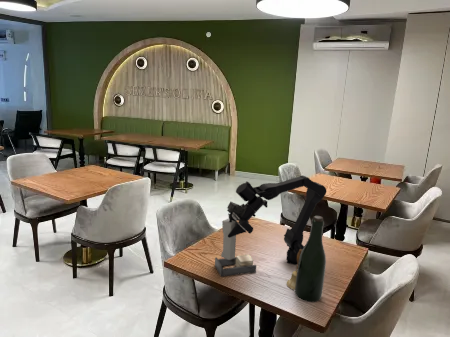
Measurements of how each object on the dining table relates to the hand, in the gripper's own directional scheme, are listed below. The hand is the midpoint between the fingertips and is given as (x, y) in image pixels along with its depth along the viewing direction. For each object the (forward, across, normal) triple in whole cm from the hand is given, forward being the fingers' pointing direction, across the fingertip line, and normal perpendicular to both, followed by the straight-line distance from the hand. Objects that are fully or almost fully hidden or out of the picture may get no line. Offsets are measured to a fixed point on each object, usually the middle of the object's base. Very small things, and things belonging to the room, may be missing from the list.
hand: (226, 234), depth 143 cm
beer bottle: (-6, +26, +31) cm, 41 cm away
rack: (+9, 0, +16) cm, 18 cm away
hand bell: (-6, +18, +30) cm, 36 cm away
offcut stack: (+6, 0, +19) cm, 20 cm away
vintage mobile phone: (+7, 0, +9) cm, 11 cm away
